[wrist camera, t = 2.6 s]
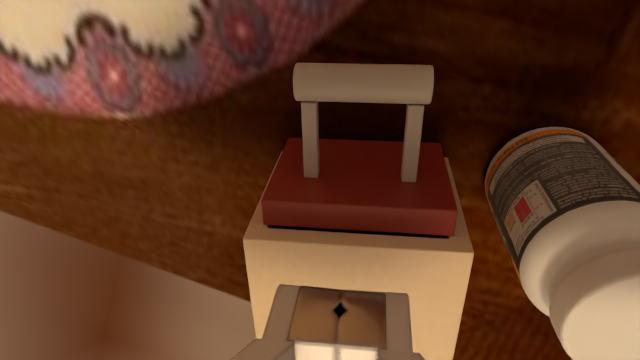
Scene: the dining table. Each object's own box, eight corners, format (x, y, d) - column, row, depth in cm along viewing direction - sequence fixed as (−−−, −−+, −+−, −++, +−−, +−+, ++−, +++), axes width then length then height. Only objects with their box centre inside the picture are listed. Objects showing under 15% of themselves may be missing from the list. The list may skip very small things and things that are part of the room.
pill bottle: (463, 201, 24) (508, 360, 15) (518, 105, 21) (613, 235, 12) (561, 233, 24) (661, 407, 15) (630, 143, 21) (800, 296, 12)
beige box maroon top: (281, 150, 23) (241, 238, 17) (448, 156, 22) (474, 253, 16) (290, 285, 28) (263, 394, 22) (428, 295, 27) (442, 412, 21)
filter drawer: (282, 40, 20) (248, 80, 15) (454, 41, 19) (479, 85, 14) (296, 267, 26) (275, 348, 21) (423, 276, 25) (432, 363, 20)
